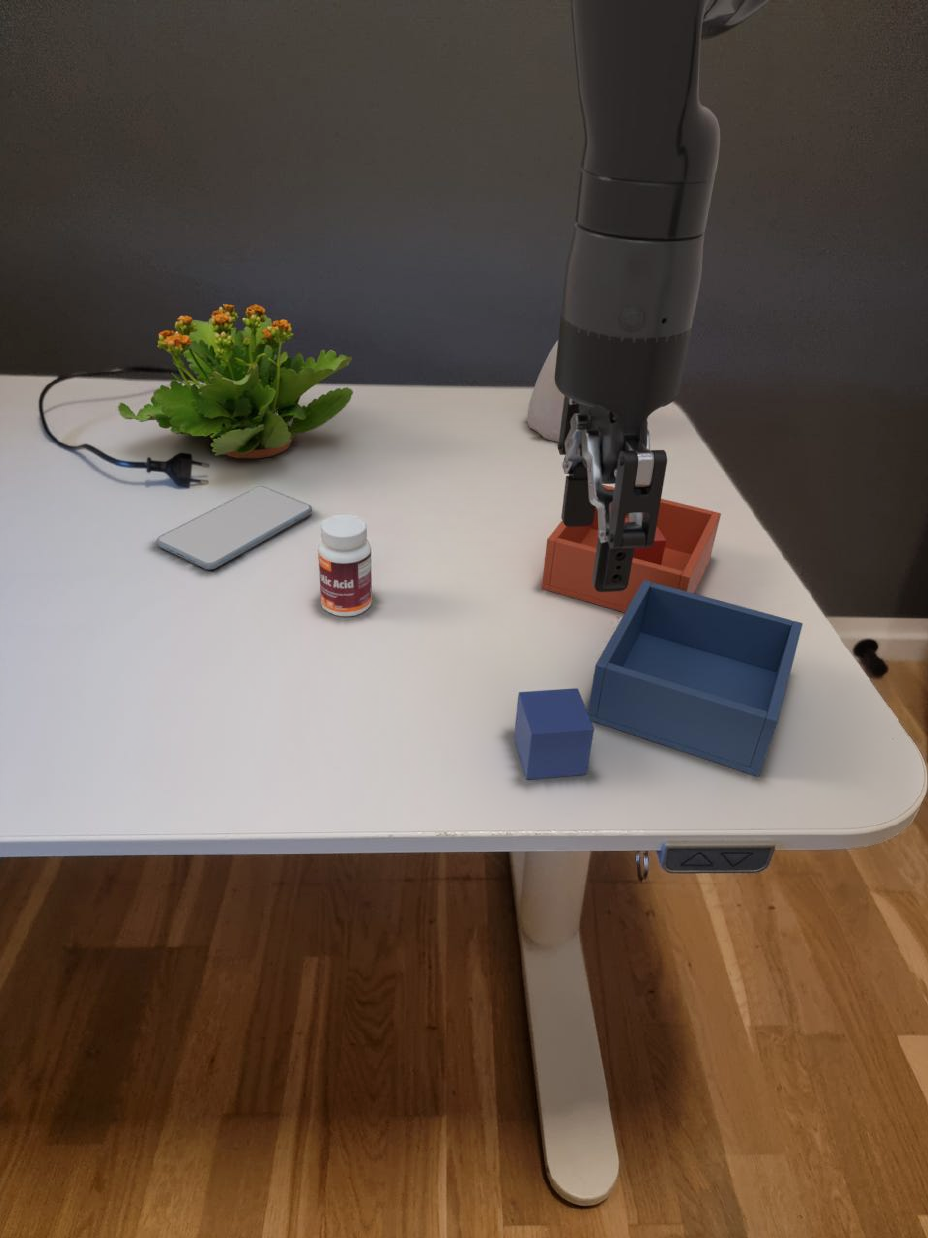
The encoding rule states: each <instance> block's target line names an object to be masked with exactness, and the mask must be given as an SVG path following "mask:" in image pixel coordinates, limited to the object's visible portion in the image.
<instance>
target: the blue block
mask: <svg viewBox="0 0 928 1238" xmlns="http://www.w3.org/2000/svg"><path fill="white" fill-rule="evenodd" d="M581 695H582V694H581V693H580V691H579V688H578V687H574V688H562V689H561V688H560V689H545V690H531V691H519V692H518V694H517V702H516V703H517V704H516V706H517V707H516V714H515V723H514V724H515V725H514V733H513V738H514V743H515V745H516V749H517V752H518V755H519V759H520V763H521V766H522V770H523V774H524V776H525V779H526V780H536V779H537V780H538V779H549V778H560V777H572V776H573V777H574V776H584V775H587V773H588V767H589V761H590V754H591V749H592V746H593V745H592V744H593V739H594V733H595V728H594V725H593V723H592V721H591V720H590V718H589V715H588V709H587V708H586V705H585V703H584V700H583V698H582V696H581Z"/></svg>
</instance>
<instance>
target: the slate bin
mask: <svg viewBox="0 0 928 1238" xmlns="http://www.w3.org/2000/svg"><path fill="white" fill-rule="evenodd" d="M802 629H803V622H800V621H797V620H793V619H789V618H785V617H782V616H778V615H774V614H771V613H767V612H763V611H760V610H756V609H752V608H749V607H744V606H742V605H737V604H734V603H730V602H726V601H723V600H719V599H715V598H711V597H708V596H705V595H701V594H698V593H697V594H696V593H690V592H686V591H683V590H679V589H675V588H672V587H668V586H664V585H661V584H657V583H652V582H649V581H646V580H643V582H642V584H641V586H640V587H639V589H638V591H637V593H636V594H635V596H634V598H633V600H632V601H631V603H630V605H629V607H628V609H627V610H626V612H624V614H623V615H622V618H621V619H620V620H619V623H618V624H617V626H616V628H615V630H614V631H613V633H612V635H611V637H610V639H609V640H608V642H607V644H606V646H605V647H604V649H603V651H602V653H601V654H600V655H599V656H600V657H599V658H598V660H597V661H596V664H595V665H594V672H593V678H592V684H591V689H590V696H589V701H588V708H587V713H588V715H589V718H590V720H591V722H594V723H596V724H599V725H603V726H606V727H609V728H612V729H614V730H618V731H621V732H624V733H627V734H630V735H633V736H636V737H639V738H642V739H645V740H648V741H651V742H654V743H657V744H660V745H662V746H666V747H668V748H672V749H674V750H678V751H681V752H683V753H687V754H690V755H692V756H696V757H698V758H701V759H705V760H708V761H711V762H714V763H717V764H720V765H722V766H726V767H729V768H732V769H735V770H738V771H741V772H743V773H747V774H750V775H751V776H756V777H759V776H760V774H761V771H762V769H763V766H764V763H765V760H766V758H767V754H768V751H769V748H770V745H771V742H772V739H773V736H774V734H775V730H776V727H777V725H778V722H779V719H780V714H781V710H782V707H783V702H784V698H785V695H786V690H787V686H788V683H789V679H790V675H791V671H792V667H793V663H794V660H795V656H796V651H797V647H798V645H799V644H798V643H799V640H800V636H801V632H802Z"/></svg>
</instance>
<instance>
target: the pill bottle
mask: <svg viewBox="0 0 928 1238" xmlns="http://www.w3.org/2000/svg"><path fill="white" fill-rule="evenodd" d="M320 538H321V540H320V542H319V544H318V548H317V556H318V557H317V558H318V568H319V569H318V570H319V571H318V574H319V575H318V576H319V589H320V592H319V593H320V603H321V607H322V608H323V610H325V611H326V612H328V613H330V614H332V615H334V616H337V617H353V616H357V615H359V614H360V615H361V614H362V613H364V612H366V611H367V610H368V609H369V608H370V607H371V606H372V602H373V588H372V587H373V585H372V583H373V581H372V580H373V579H372V578H373V577H372V576H373V575H372V545H371V543H370V541H369V539H368V526H367V523H366V521H365V520H364V519H363V518H362V517H360V516H357V515H354V514H347V513H346V514H345V513H343V514H335V515H331V516H329V517H326V518H325V519H324V520H323V521H322V522H321V524H320Z"/></svg>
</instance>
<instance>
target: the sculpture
mask: <svg viewBox="0 0 928 1238" xmlns="http://www.w3.org/2000/svg"><path fill="white" fill-rule="evenodd" d="M557 348H558V339H557V341H556V342H555V343H554V345H553V346H552V347H551V349H550V351H549V353H548V355H547V357H546V360H545V362H544V364H543V366H542V368H541V369H540V372H539V374H538V376H537V378H536V379H537V380H536V382H535V384H534V388H533V390H532V393H531V396H530V399H529V402H528V407H527V425H528V427H529V428H530V429H532V430H534V431H535V432H537V433H538V434H540V435H541V436H542V437H543V439H545V440H547V441H552V442H555V443H559V435H560V428H561V420H562V412H563V404H564V395H563V394H562V393H561V392H560V391H559V390H558V388H557V386H556V384H555V378H554V377H555V367H556V357H557Z"/></svg>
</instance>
